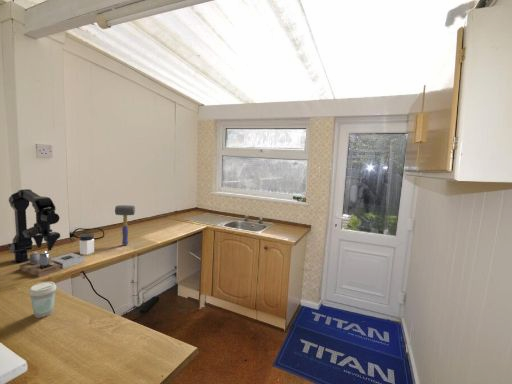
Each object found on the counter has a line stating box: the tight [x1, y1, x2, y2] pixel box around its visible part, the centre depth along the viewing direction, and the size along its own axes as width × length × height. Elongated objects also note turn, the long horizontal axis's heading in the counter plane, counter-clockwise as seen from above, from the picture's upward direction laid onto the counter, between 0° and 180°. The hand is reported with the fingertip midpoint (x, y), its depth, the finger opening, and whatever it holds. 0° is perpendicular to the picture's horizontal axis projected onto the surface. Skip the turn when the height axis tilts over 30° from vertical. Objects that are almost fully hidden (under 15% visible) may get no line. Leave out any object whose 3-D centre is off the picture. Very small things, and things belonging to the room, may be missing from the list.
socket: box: [49, 252, 85, 269], centre depth 151 cm, size 12×12×3 cm
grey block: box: [39, 250, 50, 269], centre depth 138 cm, size 4×4×12 cm
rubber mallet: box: [114, 204, 136, 246], centre depth 185 cm, size 12×8×30 cm, turn 106°
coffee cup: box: [28, 281, 57, 319], centre depth 102 cm, size 8×8×12 cm
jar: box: [78, 233, 95, 256], centre depth 167 cm, size 9×8×12 cm
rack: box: [18, 251, 61, 278], centre depth 139 cm, size 18×10×9 cm, turn 68°
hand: (44, 249), depth 137 cm, fingers open, 9 cm apart
